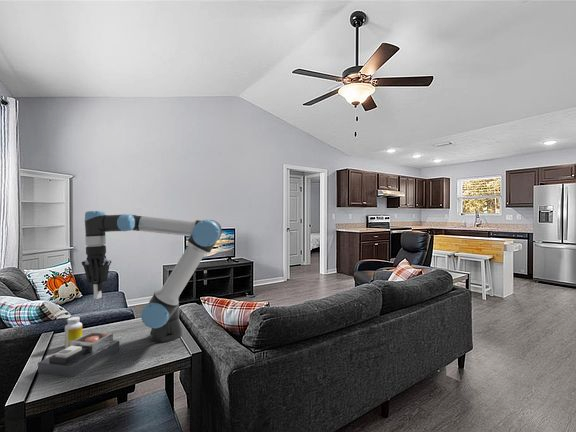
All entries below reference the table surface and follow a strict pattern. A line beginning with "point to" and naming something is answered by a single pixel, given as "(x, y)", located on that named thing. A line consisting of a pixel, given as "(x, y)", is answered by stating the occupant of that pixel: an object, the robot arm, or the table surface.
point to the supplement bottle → (72, 330)
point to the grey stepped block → (80, 356)
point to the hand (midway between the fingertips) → (97, 298)
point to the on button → (68, 351)
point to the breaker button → (92, 339)
